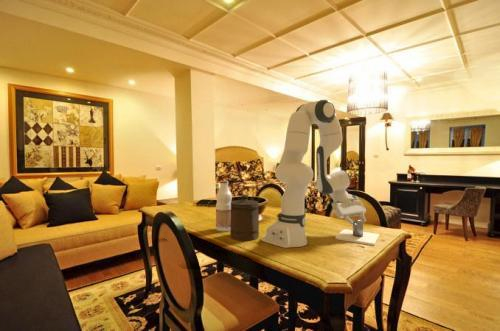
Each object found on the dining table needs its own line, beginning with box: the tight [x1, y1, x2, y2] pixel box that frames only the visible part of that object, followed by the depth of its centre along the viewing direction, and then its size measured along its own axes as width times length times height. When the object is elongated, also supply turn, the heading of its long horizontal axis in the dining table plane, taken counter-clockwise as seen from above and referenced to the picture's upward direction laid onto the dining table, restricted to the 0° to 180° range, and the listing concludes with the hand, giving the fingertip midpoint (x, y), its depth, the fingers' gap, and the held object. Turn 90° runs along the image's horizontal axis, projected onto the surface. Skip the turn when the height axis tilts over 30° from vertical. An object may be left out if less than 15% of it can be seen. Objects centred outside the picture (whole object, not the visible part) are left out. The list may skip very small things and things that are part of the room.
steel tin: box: [352, 218, 364, 237], centre depth 130 cm, size 5×5×8 cm
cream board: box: [334, 228, 380, 246], centre depth 130 cm, size 18×18×1 cm
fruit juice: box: [215, 180, 233, 232], centre depth 144 cm, size 9×9×28 cm
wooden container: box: [229, 194, 260, 242], centre depth 131 cm, size 15×15×22 cm
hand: (358, 222), depth 129 cm, fingers open, 8 cm apart
